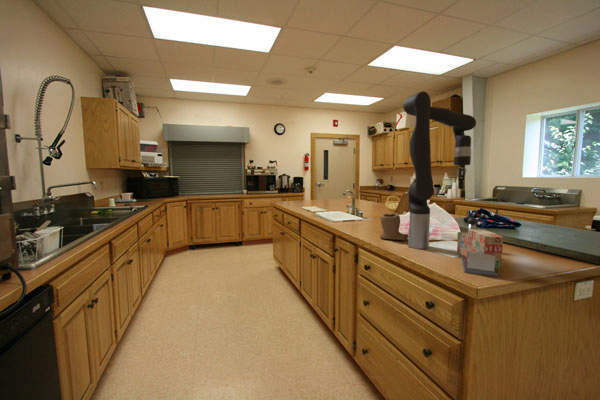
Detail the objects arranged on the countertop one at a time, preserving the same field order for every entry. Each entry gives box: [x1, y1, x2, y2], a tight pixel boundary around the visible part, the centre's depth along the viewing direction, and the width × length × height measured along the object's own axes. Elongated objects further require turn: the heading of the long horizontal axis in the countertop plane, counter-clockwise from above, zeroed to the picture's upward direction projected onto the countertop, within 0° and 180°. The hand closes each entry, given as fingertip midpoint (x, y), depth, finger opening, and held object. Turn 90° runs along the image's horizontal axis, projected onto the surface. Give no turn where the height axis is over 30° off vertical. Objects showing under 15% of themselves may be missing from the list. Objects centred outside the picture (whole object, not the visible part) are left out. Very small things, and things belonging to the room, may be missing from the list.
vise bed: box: [460, 251, 499, 278], centre depth 109 cm, size 10×36×8 cm, turn 151°
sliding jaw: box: [467, 217, 478, 231], centre depth 122 cm, size 8×15×14 cm, turn 151°
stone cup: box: [379, 212, 409, 241], centre depth 147 cm, size 15×12×15 cm
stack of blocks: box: [456, 229, 504, 270], centre depth 106 cm, size 21×6×12 cm, turn 172°
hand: (460, 188), depth 138 cm, fingers closed
